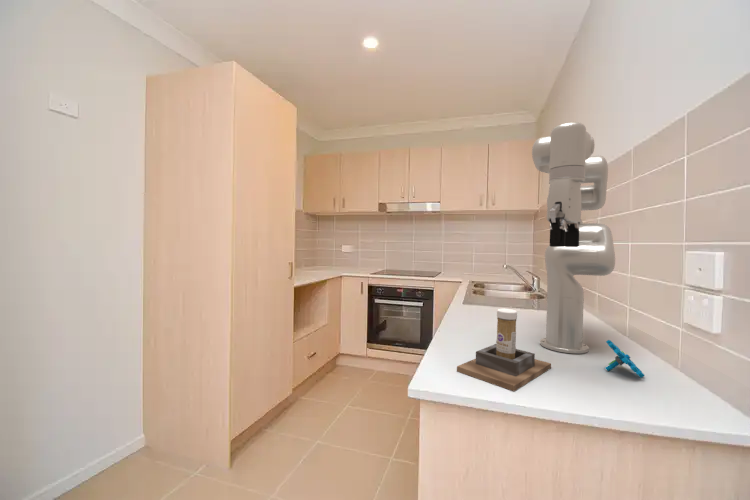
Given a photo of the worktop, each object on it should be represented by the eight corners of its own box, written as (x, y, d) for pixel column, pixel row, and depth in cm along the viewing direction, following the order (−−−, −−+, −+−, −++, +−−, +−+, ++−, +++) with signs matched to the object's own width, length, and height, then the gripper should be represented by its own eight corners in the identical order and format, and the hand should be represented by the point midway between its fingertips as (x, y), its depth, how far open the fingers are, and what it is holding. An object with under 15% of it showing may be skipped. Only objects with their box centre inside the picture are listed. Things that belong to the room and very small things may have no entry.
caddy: (497, 353, 92) (498, 338, 92) (550, 368, 82) (551, 351, 81) (456, 371, 79) (457, 353, 78) (514, 391, 68) (514, 371, 68)
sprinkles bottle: (492, 363, 80) (493, 309, 80) (501, 359, 83) (502, 307, 83) (510, 369, 77) (511, 312, 77) (519, 365, 80) (520, 310, 80)
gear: (649, 378, 72) (611, 339, 77) (625, 392, 74) (589, 354, 79) (645, 370, 81) (610, 336, 86) (623, 383, 83) (591, 349, 88)
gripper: (562, 183, 88) (560, 246, 89) (536, 173, 77) (534, 246, 77) (594, 179, 83) (592, 247, 83) (571, 168, 71) (569, 246, 72)
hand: (564, 246), depth 80 cm, fingers open, 9 cm apart
